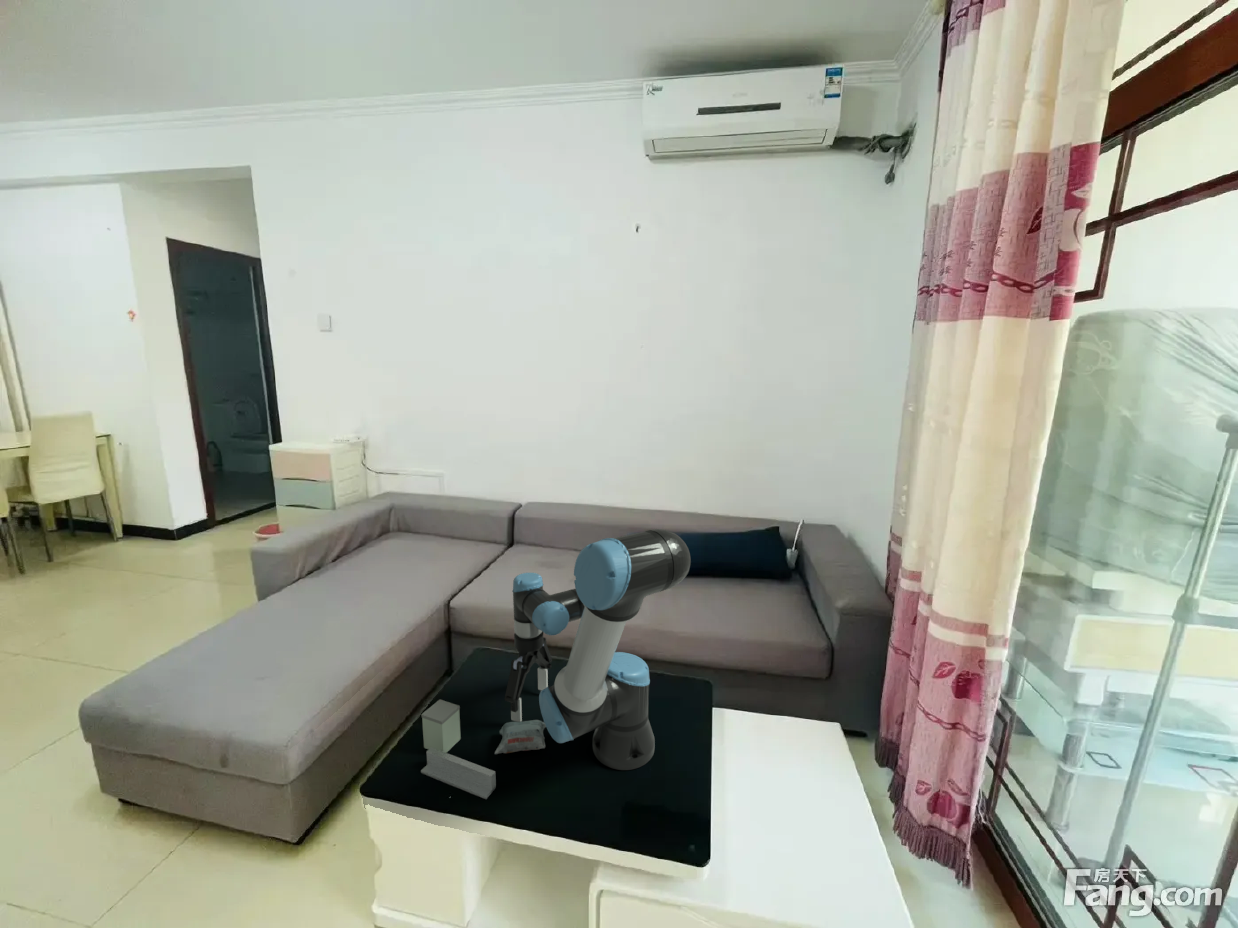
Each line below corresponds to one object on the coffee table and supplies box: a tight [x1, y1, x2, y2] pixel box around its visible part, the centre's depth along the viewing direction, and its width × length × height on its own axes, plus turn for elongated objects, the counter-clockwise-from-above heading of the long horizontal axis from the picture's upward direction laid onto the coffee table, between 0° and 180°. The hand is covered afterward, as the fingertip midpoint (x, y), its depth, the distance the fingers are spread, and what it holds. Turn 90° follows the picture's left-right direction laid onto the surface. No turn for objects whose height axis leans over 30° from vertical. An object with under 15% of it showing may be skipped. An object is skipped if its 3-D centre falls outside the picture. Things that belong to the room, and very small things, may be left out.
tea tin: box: [420, 699, 462, 753], centre depth 124 cm, size 6×6×9 cm
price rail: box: [420, 747, 497, 800], centre depth 114 cm, size 18×4×4 cm, turn 67°
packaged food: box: [494, 719, 547, 755], centre depth 124 cm, size 9×12×5 cm
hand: (530, 704), depth 137 cm, fingers open, 13 cm apart
